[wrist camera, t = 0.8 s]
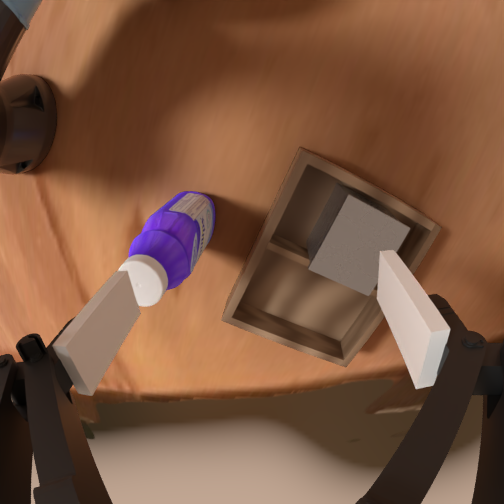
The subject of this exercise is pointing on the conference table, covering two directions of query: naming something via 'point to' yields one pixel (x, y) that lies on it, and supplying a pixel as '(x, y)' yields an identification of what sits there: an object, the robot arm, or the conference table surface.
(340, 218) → the block
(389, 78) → the conference table surface
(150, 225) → the bottle
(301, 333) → the crate
